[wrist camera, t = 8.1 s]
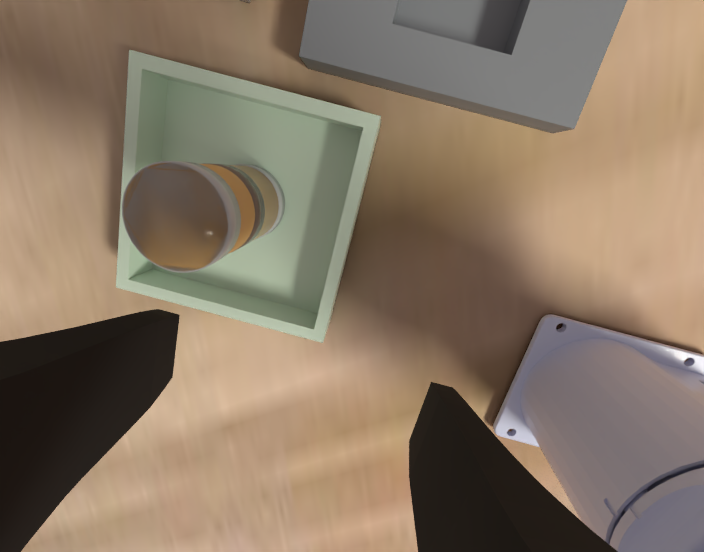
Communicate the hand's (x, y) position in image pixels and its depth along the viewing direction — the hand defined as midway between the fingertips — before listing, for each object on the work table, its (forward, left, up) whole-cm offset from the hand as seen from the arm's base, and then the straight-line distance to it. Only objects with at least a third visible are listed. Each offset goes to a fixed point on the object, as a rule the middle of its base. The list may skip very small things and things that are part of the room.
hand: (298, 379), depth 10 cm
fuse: (+5, -3, -10) cm, 12 cm away
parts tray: (+5, -2, -10) cm, 12 cm away
